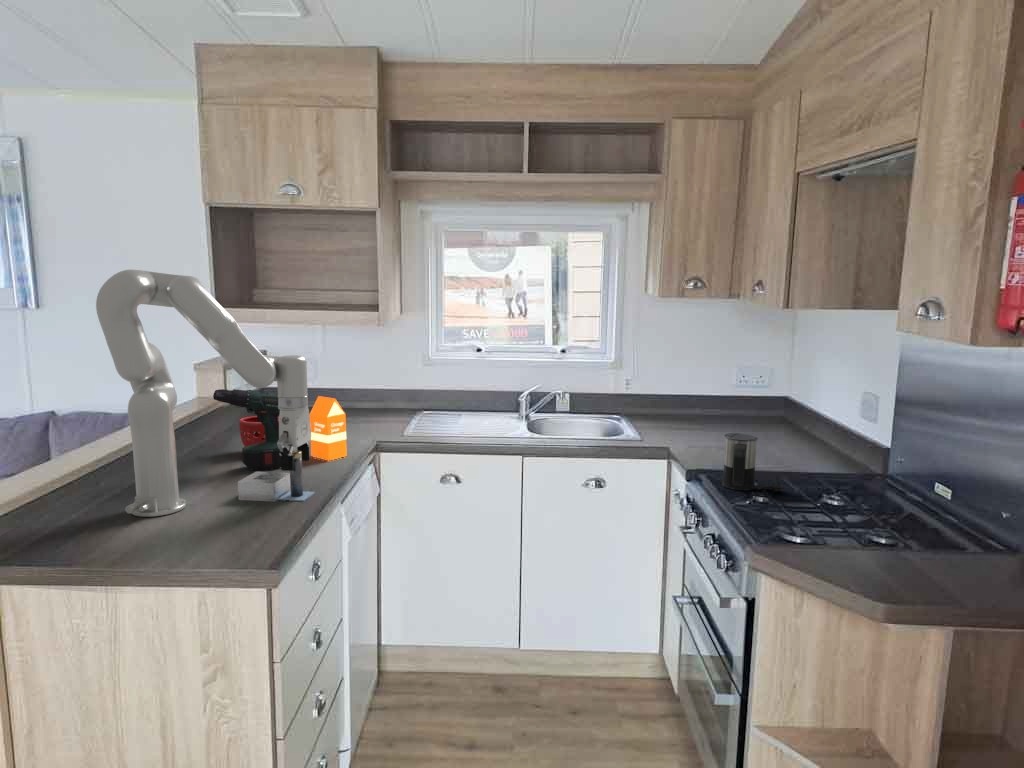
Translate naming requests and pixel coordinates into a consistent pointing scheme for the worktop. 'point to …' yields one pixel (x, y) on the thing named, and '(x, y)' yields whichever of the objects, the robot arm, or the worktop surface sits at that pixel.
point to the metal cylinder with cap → (296, 475)
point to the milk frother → (742, 463)
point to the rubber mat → (301, 498)
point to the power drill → (267, 414)
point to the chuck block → (264, 486)
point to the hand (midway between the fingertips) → (295, 465)
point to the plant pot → (251, 431)
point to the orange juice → (328, 429)
